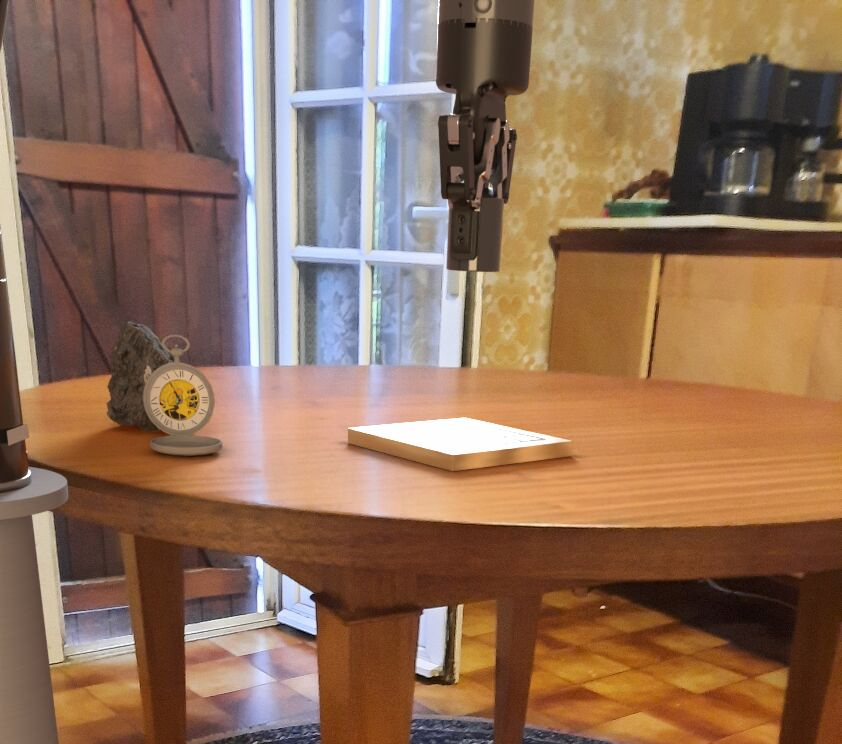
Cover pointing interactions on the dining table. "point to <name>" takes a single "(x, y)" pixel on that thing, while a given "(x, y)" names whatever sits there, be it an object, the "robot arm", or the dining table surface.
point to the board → (459, 443)
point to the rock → (136, 375)
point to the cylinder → (483, 239)
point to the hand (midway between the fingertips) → (473, 258)
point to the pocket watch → (180, 406)
